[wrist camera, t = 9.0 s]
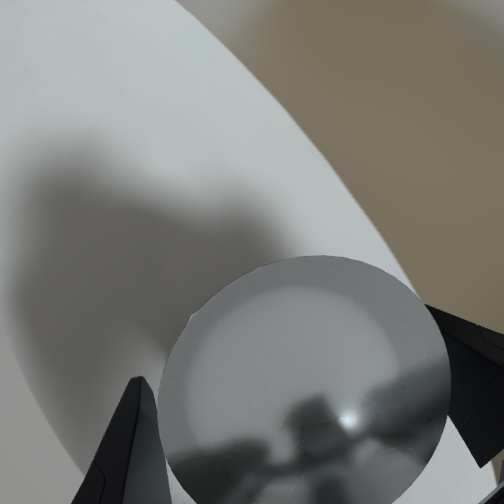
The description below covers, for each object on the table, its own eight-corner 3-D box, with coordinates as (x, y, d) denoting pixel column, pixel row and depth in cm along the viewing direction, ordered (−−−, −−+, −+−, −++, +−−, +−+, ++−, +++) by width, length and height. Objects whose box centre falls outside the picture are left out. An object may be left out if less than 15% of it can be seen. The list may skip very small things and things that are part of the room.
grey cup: (341, 374, 18) (483, 402, 6) (249, 444, 16) (287, 573, 4) (272, 285, 19) (345, 198, 7) (176, 354, 17) (93, 378, 6)
